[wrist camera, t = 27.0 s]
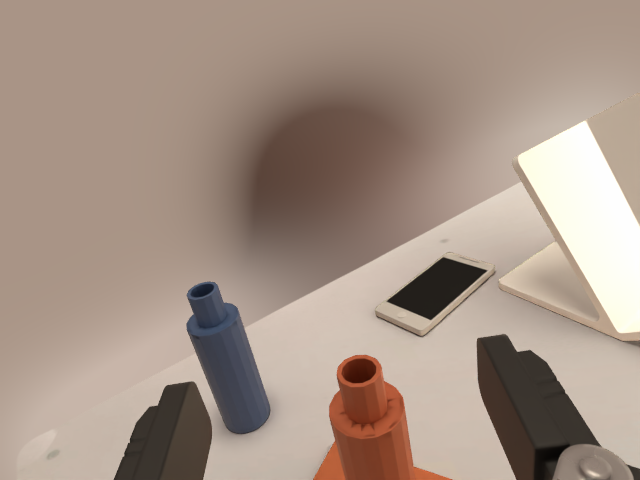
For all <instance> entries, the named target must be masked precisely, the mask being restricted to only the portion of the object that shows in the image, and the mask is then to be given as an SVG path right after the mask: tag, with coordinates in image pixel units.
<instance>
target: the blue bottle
mask: <svg viewBox="0 0 640 480" xmlns="http://www.w3.org/2000/svg"><path fill="white" fill-rule="evenodd" d="M187 297H188V300H189V303H190V305H191V308H192V310H193V313H194V315H192V316H191V317H190V319H189V321H188V322H187V331H188V334H189V336H190V339H191V341H192V344H193V346H194V349H195V351H196V354H197V356H198V359H199V361H200V364H201V366H202V369H203V371H204V374H205V376H206V379H207V381H208V384H209V386H210V389H211V391H212V394H213V396H214V399H215V401H216V404H217V406H218V409H219V411H220V414H221V416H222V418H223V421H224V423H225V425H226V427H227V428H228V429H229V430H230V431H232V432H234V433H241V434H242V433H248V432H251V431H254V430H256V429H257V428H259V427H260V426H261V425H262V424H263V423H264V422H265V421H266V420H267V418H268V416H269V413H270V405H269V402H268V399H267V396H266V393H265V390H264V387H263V384H262V381H261V378H260V375H259V372H258V369H257V365H256V362H255V359H254V356H253V353H252V350H251V347H250V344H249V341H248V338H247V335H246V332H245V329H244V326H243V323H242V320H241V317H240V314H239V311H238V308H237V307H236V306H234V305H233V304H230V303H224V302H223V300H222V297H221V294H220V291H219V288H218V285H217V284H216V283H215V282H204V283H200V284H198V285H196V286H194V287H192V288H191V289H190V290H189V291H188V293H187Z"/></svg>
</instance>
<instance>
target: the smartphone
mask: <svg viewBox="0 0 640 480" xmlns="http://www.w3.org/2000/svg"><path fill="white" fill-rule="evenodd" d="M494 272H495V265H493V264H490V263H486V262H483V261H479V260H476V259H472V258H469V257H465V256H462V255H458V254H455V253H451V252H448V253H446V254H444V255H443V256H442V257H441V258H439V259H438V260H437V261H435V262H434V263H433V264H431V265H430V266H429V267H428V268H426V269H425V270H424V271H422V272H421V273H420V274H419V275H417V276H416V277H415V278H413V279H412V280H411V281H410V282H408V283H407V284H406V285H404V286H403V287H402V288H400V289H399V290H398V291H397V292H395V293H394V294H393V295H391V296H390V297H389V298H388V299H386V300H385V301H384V302H382V303H381V304H380V305H379V306H377V307H376V308H375V314H376V316H378V317H381V318H383V319H385V320H387V321H389V322H391V323H394V324H396V325H398V326H400V327H402V328H405V329H407V330H409V331H411V332H413V333H416V334H418V335H420V336H423V335H425V334H426V333H427V332H429V331H430V330H431V329H432V328H433V327H434V326H435V325H436V324H437V323H439V322H440V321H441V320H442V319H443V318H444V317H445V316H446V315H447V314H449V313H450V312H451V311H452V310H453V309H454V308H455V307H456V306H458V305H459V304H460V303H461V302H462V301H463V300H464V299H465V298H466V297H468V296H469V295H470V294H471V293H472V292H473V291H474V290H475V289H476V288H478V287H479V286H480V285H481V284H482V283H483V282H484V281H485V280H487V279H488V278H489V277H490V276H491V275H492V274H493V273H494Z"/></svg>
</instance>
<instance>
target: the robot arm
mask: <svg viewBox="0 0 640 480" xmlns="http://www.w3.org/2000/svg"><path fill="white" fill-rule="evenodd" d="M477 365H478V383H479V389H480V393H481V396H482V399H483V402H484V405H485V407H486V409H487V412H488V414H489V416H490V419H491V421H492V423H493V426H494V428H495V430H496V433H497V435H498V437H499V440H500V442H501V444H502V447H503V449H504V451H505V454H506V456H507V458H508V461H509V463H510V465H511V468H512V470H513V473H514V475H515V477H516V480H640V469H639V468H635V467H632V466H630V465H627V464H625V462H624V461H623V460H622V459H620V458H619V457H618V456H617V455H615V454H614V453H612V452H610V451H609V450H607V449H604V448H602V447H601V445H600V444H599V443H598V441H597V440H596V438H595V437H594V435H593V434H592V432H591V431H590V429H589V428H588V426H587V424H586V423H585V421H584V420H583V418H582V417H581V415H580V414H579V412H578V410H577V409H576V407H575V406H574V404H573V403H572V401H571V400H570V398H569V396H568V395H567V394H565V390H564V389H563V387H562V386H561V384H560V382H559V381H557V378H556V376H555V375H554V373H553V372H552V370H551V368H550V367H549V365H548V364H547V362H545V361H544V360H543V359H541V358H540V357H539V356H537V355H536V354H535V353H533V352H532V351H531V350H528V351H521V352H517V351H516V350H515V348H514V346H513V344H512V343H511V341H510V339H509V338H508V336H507V335H506V334H502V335H496V336H489V337H483V338H478V339H477ZM211 440H212V426H211V420H210V417H209V415H208V412H207V410H206V407H205V405H204V402H203V400H202V397H201V395H200V393H199V390H198V388H197V385H196V384H195V383H194V382H185V383H179V384H172V385H167V386H166V387H165V388H164V390H163V393H162V396H161V399H160V401H159V404H158V406H152V407H149V408H148V409H147V411H146V412H145V413H144V414H143V415H142V417H141V418H140V419H139V420H138V422H137V423H136V425H135V428H134V430H133V433H132V435H131V438H130V443H128V445H127V448H126V450H125V453H124V454H125V456H124V457H123V458H122V460H121V463H120V465H119V468H118V470H117V473H116V475H115V478H114V480H203V477H204V473H205V468H206V463H207V459H208V454H209V449H210V445H211Z"/></svg>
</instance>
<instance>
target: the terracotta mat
mask: <svg viewBox="0 0 640 480" xmlns="http://www.w3.org/2000/svg"><path fill="white" fill-rule="evenodd" d="M414 474H415V480H452V479H449V478H446V477H443V476H440V475H437V474H434V473H431V472H428V471H425V470H422V469H419V468H416V467H414ZM313 480H345V476H344V472H343V469H342V465H341V461H340V457H339V453H338V449H337V445H336V441H335V442H334V444H333V445H332V447H331V449H330V451H329V452H328V454H327V456H326V458H325V459H324V461H323V463H322V465H321V467H320V468H319V470H318V472H317V474H316V475H315V477H314V479H313Z"/></svg>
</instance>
